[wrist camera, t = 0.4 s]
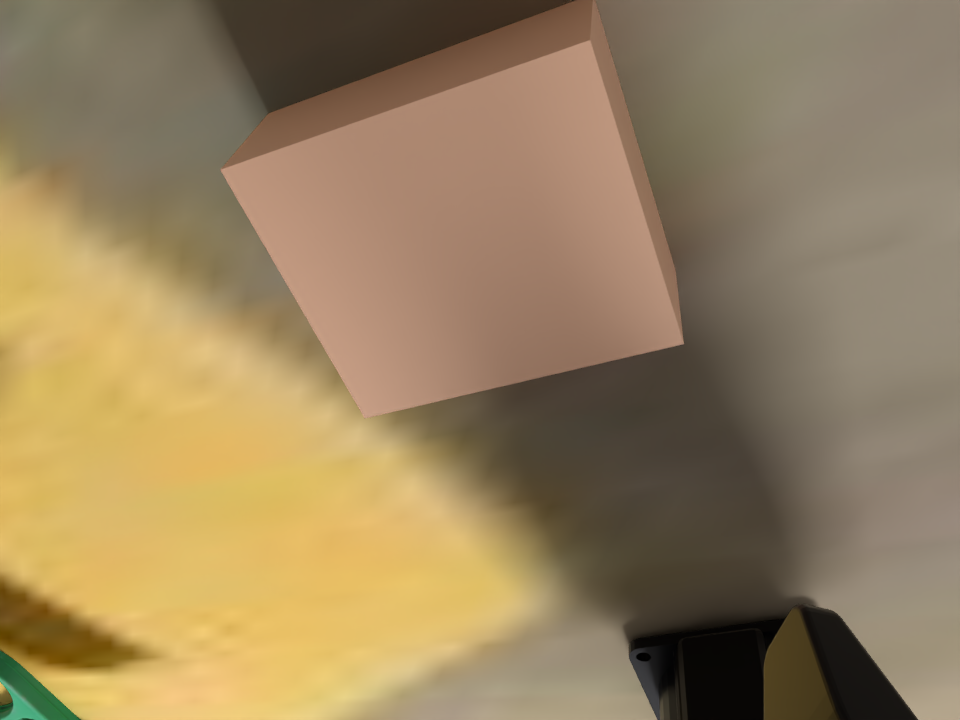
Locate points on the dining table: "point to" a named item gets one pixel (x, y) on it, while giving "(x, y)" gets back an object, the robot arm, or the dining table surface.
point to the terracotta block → (467, 216)
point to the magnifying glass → (28, 695)
